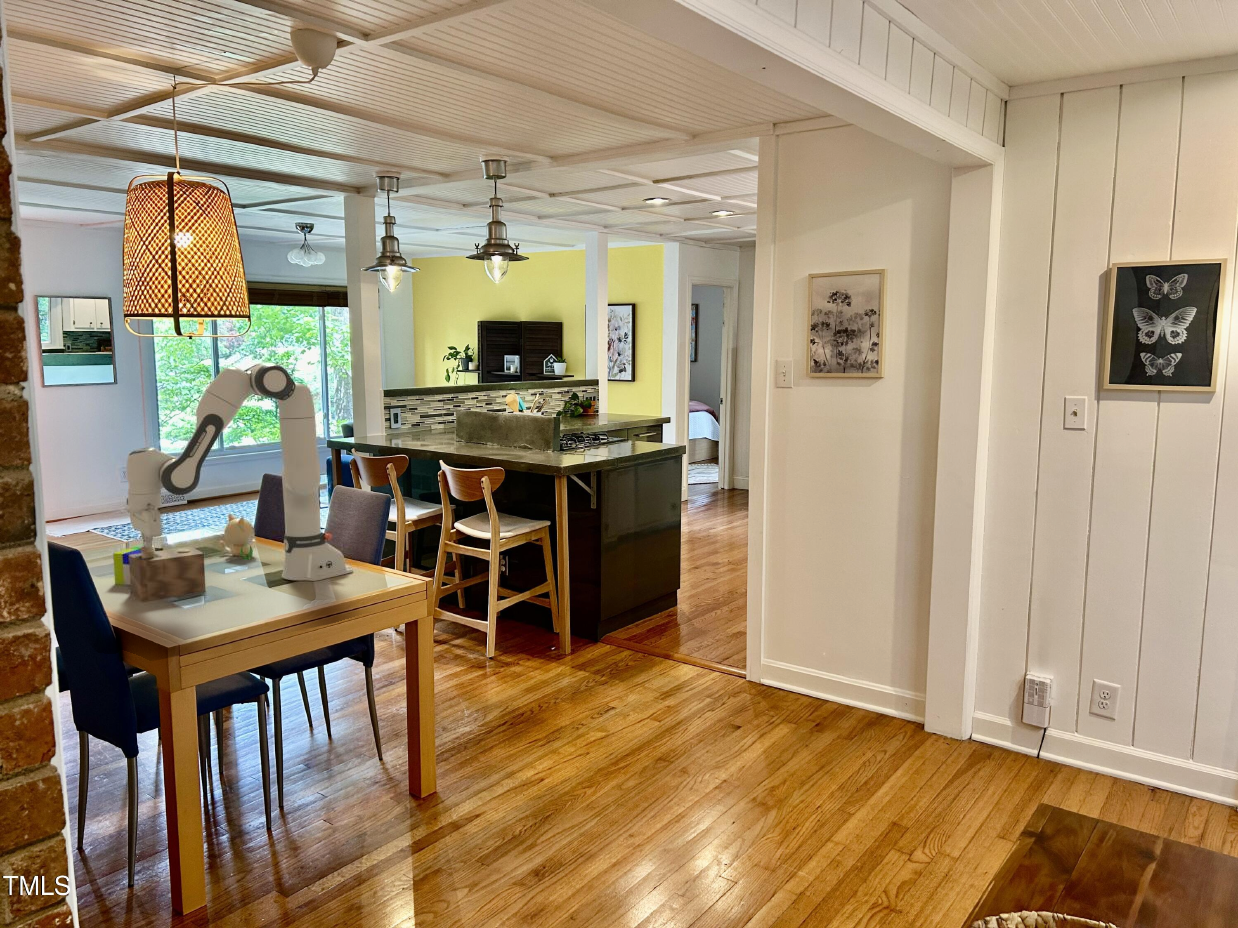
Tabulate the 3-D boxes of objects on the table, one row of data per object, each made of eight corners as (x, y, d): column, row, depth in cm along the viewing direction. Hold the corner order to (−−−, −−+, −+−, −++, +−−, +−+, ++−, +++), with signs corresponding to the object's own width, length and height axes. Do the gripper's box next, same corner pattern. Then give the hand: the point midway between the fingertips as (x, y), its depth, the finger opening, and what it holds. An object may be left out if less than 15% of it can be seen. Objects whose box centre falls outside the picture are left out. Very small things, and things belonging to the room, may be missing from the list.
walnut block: (193, 583, 281) (191, 545, 279) (205, 591, 272) (203, 552, 271) (131, 593, 269) (128, 553, 267) (141, 601, 260) (139, 561, 259)
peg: (154, 581, 269) (152, 545, 268) (158, 584, 267) (156, 547, 265) (142, 583, 267) (139, 546, 265) (145, 586, 264) (143, 548, 263)
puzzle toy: (142, 585, 277) (140, 555, 276) (115, 583, 279) (113, 553, 278) (164, 578, 287) (163, 548, 286) (138, 576, 289) (136, 546, 288)
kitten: (264, 556, 318) (262, 515, 316) (237, 561, 310) (235, 519, 308) (245, 549, 328) (243, 510, 326) (218, 554, 320) (216, 513, 318)
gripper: (166, 505, 258) (169, 551, 260) (147, 496, 273) (149, 539, 275) (143, 507, 254) (145, 554, 256) (124, 498, 269) (127, 542, 271)
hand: (147, 546), depth 265 cm, fingers closed, pressing on peg
